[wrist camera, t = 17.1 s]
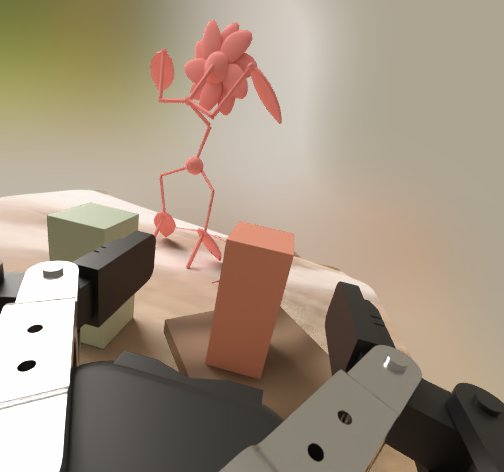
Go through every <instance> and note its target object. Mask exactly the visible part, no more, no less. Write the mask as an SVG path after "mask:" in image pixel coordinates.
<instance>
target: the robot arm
mask: <svg viewBox="0 0 504 472" xmlns="http://www.w3.org/2000/svg"><path fill="white" fill-rule="evenodd" d="M155 245H156V238H155V236H154V235H152V234H148V233H144V232H140V231H135V232H133V233H132V234H130V235H128V236H126V237H125V238H121V239H117V240H113V241H110V242H108V243H106V244H104V245H102V246H101V247H99V248H97V249H95V250H94V251H92V252H90V253H88V254H86V255H84V256H82V257H81V258H79V259H77V260H75V261H73V262H72V263H71V262H66V261H50V262H44V263H40V264H37V265H35V266H33V267H31V268H30V269H28V270H27V272H26V273H20V272H4V271H3V264H2V260H1V259H0V472H369V470H370V469H371V467H372V465H373V464H374V462H375V460H376V459H377V457H378V455H379V453H380V452H381V450H382V448H383V447H384V445H385V443H386V444H387V445H389V446H391V447H392V448H394V449H396V450H397V451H399V452H401V453H402V454H404V455H406V456H407V457H409V458H411V459H412V460H414V461H415V464H416V467H417V470H418V472H504V403H503V402H501V401H500V400H499V399H498V398H496V397H495V396H493V395H492V394H490V393H489V392H487V391H485V390H483V389H482V388H479V387H477V386H475V385H472V384H468V383H459V384H457V385H456V386H455V388H454V389H453V391H452V393H451V392H449V391H446V390H444V389H442V388H440V387H438V386H436V385H434V384H432V383H430V382H428V381H426V380H424V379H423V378H422V373H421V370H420V368H419V367H418V365H417V364H416V363H415V362H414V361H413V360H412V359H411V358H410V357H409V356H407V355H406V354H405V353H403V352H401V351H400V350H397V349H396V348H395V346H394V343H393V341H392V339H391V337H390V335H389V333H388V330H387V328H386V327H385V324H384V322H383V320H382V317H381V315H380V313H379V311H378V309H377V308H376V307H375V306H374V305H373V304H372V303H371V302H370V301H368V300H364V298H363V296H362V293H361V291H360V288H359V286H356V285H352V284H348V283H344V282H339V283H338V284H337V286H336V289H335V292H334V295H333V297H332V300H331V303H330V306H329V309H328V312H327V315H326V320H325V330H326V338H327V345H328V352H329V359H330V366H331V373H332V377H331V378H330V379H329V380H328V381H327V382H326V383H325V384H324V385H323V386H321V387H320V388H319V389H318V390H317V391H316V392H315V393H314V394H313V395H312V396H311V397H310V398H308V399H307V400H306V401H305V402H304V403H303V404H302V405H301V406H300V407H299V408H298V409H297V410H295V411H294V412H293V413H292V414H291V415H290V416H289V417H288V418H287V419H286V420H284V419H283V418H282V417H281V416H279V415H278V414H277V413H276V412H275V411H273V410H272V409H271V408H269V407H268V406H266V405H265V404H263V403H262V398H263V391H264V390H261V389H258V388H254V387H251V386H247V385H244V384H240V383H237V382H233V381H230V380H218V379H200V378H189V377H186V376H184V375H183V374H181V373H179V372H177V371H176V370H174V369H172V368H171V367H169V366H167V365H165V364H164V363H162V362H160V361H158V360H156V359H153V358H149V357H146V356H142V355H139V354H135V353H132V352H128V351H125V350H124V351H123V352H122V353H121V354H120V356H119V357H118V358H117V359H116V360H115V361H99V362H92V363H88V364H83V365H80V343H81V327H82V326H83V325H85V324H87V325H90V326H94V327H97V328H99V327H100V326H101V325H102V324H103V323H104V322H105V321H106V320H107V319H109V318H110V317H111V316H112V315H113V314H114V313H115V312H116V311H117V310H118V309H119V308H120V307H121V306H122V305H123V304H124V303H125V302H126V301H127V300H128V299H130V298H131V297H132V296H133V295H134V294H135V293H136V292H137V291H138V290H139V289H140V288H141V287H142V286H143V285H144V284H145V283H146V282H147V281H148V280H149V279H150V277H151V275H152V273H153V269H154V258H155Z"/></svg>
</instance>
